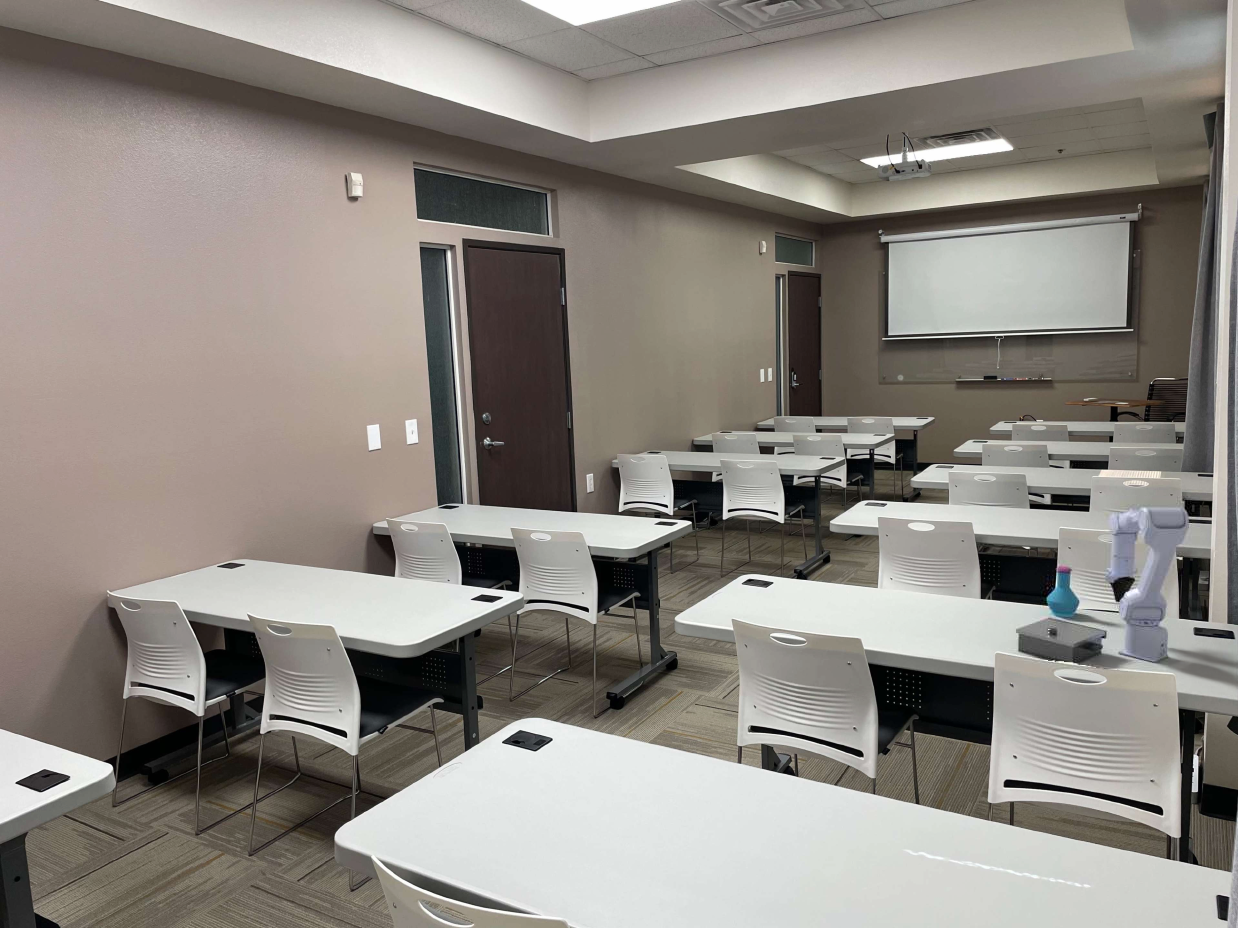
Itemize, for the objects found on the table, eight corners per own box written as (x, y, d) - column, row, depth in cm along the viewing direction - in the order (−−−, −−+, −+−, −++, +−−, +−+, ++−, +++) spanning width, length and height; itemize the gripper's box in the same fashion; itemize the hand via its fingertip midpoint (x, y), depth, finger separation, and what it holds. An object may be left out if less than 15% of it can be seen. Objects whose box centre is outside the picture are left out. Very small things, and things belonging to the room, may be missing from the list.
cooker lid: (1106, 637, 234) (1106, 626, 234) (1073, 651, 225) (1073, 639, 224) (1049, 624, 247) (1049, 613, 247) (1015, 636, 238) (1016, 624, 237)
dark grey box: (1112, 656, 232) (1113, 638, 231) (1083, 669, 223) (1084, 650, 223) (1037, 637, 249) (1037, 620, 248) (1008, 648, 240) (1008, 631, 240)
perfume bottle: (1071, 609, 275) (1073, 564, 273) (1084, 618, 265) (1085, 571, 264) (1041, 609, 275) (1042, 564, 274) (1053, 618, 266) (1054, 571, 265)
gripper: (1120, 549, 252) (1118, 594, 253) (1095, 557, 243) (1093, 603, 245) (1146, 553, 246) (1143, 599, 248) (1121, 562, 238) (1118, 609, 240)
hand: (1120, 601), depth 246 cm, fingers closed
